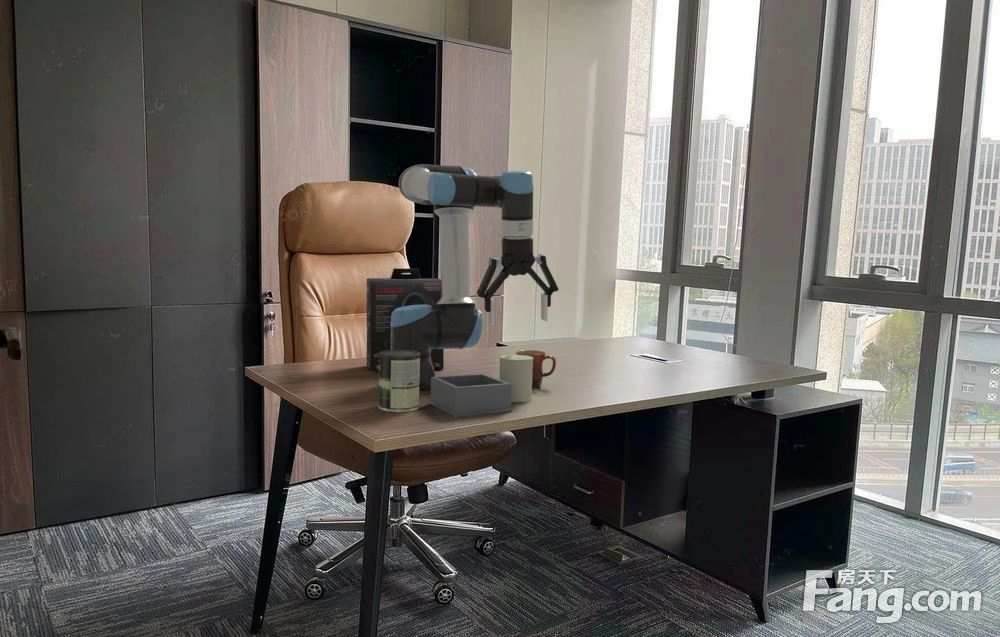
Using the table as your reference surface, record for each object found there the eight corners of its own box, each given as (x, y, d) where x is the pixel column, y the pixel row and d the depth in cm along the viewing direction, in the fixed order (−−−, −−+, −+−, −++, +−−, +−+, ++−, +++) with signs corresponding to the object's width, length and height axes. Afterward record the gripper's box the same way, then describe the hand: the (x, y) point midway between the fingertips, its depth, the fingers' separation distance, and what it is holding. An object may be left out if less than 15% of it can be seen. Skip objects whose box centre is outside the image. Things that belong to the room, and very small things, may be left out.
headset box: (368, 372, 234) (369, 268, 230) (364, 365, 245) (365, 266, 242) (444, 370, 240) (446, 269, 237) (436, 364, 252) (438, 268, 249)
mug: (511, 387, 214) (512, 353, 213) (519, 382, 223) (520, 349, 222) (551, 391, 211) (553, 356, 210) (557, 385, 220) (559, 352, 219)
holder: (429, 403, 190) (429, 376, 190) (483, 398, 198) (484, 373, 197) (454, 416, 176) (455, 388, 176) (512, 411, 184) (513, 384, 183)
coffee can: (371, 410, 181) (371, 353, 180) (389, 402, 191) (389, 348, 189) (409, 414, 178) (410, 356, 177) (425, 405, 188) (426, 351, 186)
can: (492, 397, 201) (493, 353, 199) (520, 394, 205) (522, 352, 204) (509, 403, 193) (510, 358, 192) (538, 401, 197) (540, 357, 196)
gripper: (470, 242, 169) (472, 330, 175) (571, 236, 175) (570, 321, 181) (463, 237, 176) (465, 322, 182) (560, 231, 182) (560, 313, 188)
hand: (518, 322), depth 181 cm, fingers open, 13 cm apart
